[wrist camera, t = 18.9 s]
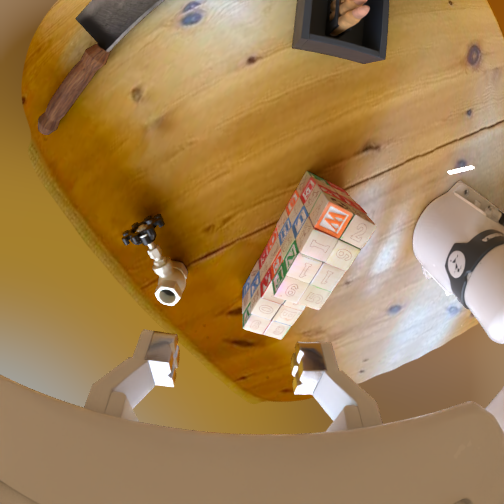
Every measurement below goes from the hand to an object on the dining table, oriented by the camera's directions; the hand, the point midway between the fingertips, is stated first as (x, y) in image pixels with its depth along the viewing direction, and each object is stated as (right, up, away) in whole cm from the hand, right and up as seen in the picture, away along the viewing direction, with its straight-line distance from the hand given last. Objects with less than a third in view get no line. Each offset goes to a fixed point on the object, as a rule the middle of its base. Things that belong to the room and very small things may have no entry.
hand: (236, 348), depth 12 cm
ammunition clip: (+11, +35, +12) cm, 39 cm away
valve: (-12, +5, +31) cm, 34 cm away
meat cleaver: (-19, +35, +13) cm, 42 cm away
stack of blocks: (+6, +6, +31) cm, 32 cm away
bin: (+11, +35, +13) cm, 39 cm away
